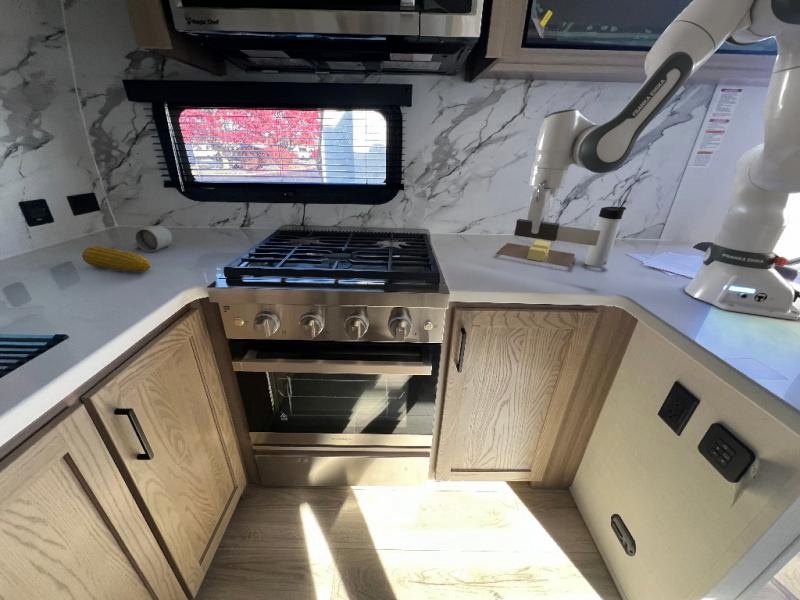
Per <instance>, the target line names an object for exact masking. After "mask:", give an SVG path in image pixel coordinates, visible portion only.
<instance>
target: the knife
mask: <svg viewBox="0 0 800 600" xmlns="http://www.w3.org/2000/svg"><path fill="white" fill-rule="evenodd" d="M531 231H532V220H528V219H523V218H518V219H516V223H515V229H514V236H515V237H520V238H521V237H522V238H529V239H536V240H542V241H549V242H556V241H557V242H564V243H572V244H578V245H585V246H590V245H592V246H596V245H597V241H598V238H599V234H600V231H597V230H595V229H589V228H579V227H573V226H572V227H571V226H564V225H560V223H559V222H551V221H543V222H542V221H541V223H540V229H539V232H538V233H537V234H535V233H532V232H531Z"/></svg>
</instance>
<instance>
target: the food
mask: <svg viewBox="0 0 800 600" xmlns="http://www.w3.org/2000/svg"><path fill="white" fill-rule="evenodd" d="M81 254H82V255H81V258H82V260H83V261H84V263H86V264H87V265H90V266H94V267H98V268H100V267H101V268H103V269H110V270H115V271H117V270H118V271H125V272H131V273H132V272H135V273H141V272H146V271H149V270H150V269H151V264H150V263H151V262H150V261H149V260H148V259H147V258H146V257H145V256H143V255H142V256H141V255H140V254H137V253H135V252H129V251H124V250H119V249H113V248H108V247H103V246H88V247H86V248H85V249H84V250H83V251H82V252H81Z"/></svg>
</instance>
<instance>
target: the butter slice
mask: <svg viewBox="0 0 800 600" xmlns="http://www.w3.org/2000/svg"><path fill="white" fill-rule="evenodd" d="M530 247H531V248H530V249H529V254H528V259H532V260H537V261H536V262H538V261H544V258H545V254H546V250H547V249H542V248H536V247H532V246H530ZM532 260H531V261H532Z"/></svg>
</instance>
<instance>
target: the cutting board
mask: <svg viewBox="0 0 800 600" xmlns="http://www.w3.org/2000/svg"><path fill="white" fill-rule="evenodd" d="M531 247H532V246H528V245H523V244H517V243H513V242H507V243H506V244H504V245H503V246H502V247H501V248H500V249H499V250H498V251H496V253H495V254H496V255H500V256H505V257H506V256H507V257H511V258H517V259H523V260H528V261H533V262H539V263H543V264H549V265H555V266H560V267H561V266H562V267H566V268H571V267H572V265H573V261H574V258H575V255H576V254H575V253H571V252H565V251H559V250H554V249H549V252H548V253H547V255H546V256H545V258H544V261H537V260H532V259H528V254H529V249H530V248H531Z"/></svg>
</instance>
